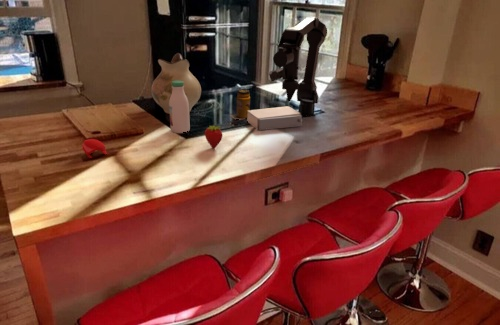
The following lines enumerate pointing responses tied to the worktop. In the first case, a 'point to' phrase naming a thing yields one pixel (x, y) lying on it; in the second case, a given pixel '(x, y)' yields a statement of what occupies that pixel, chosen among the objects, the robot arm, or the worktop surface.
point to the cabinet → (269, 114)
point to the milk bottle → (179, 109)
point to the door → (279, 122)
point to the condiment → (242, 104)
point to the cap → (93, 147)
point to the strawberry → (213, 135)
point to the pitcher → (175, 73)
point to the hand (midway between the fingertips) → (288, 101)
